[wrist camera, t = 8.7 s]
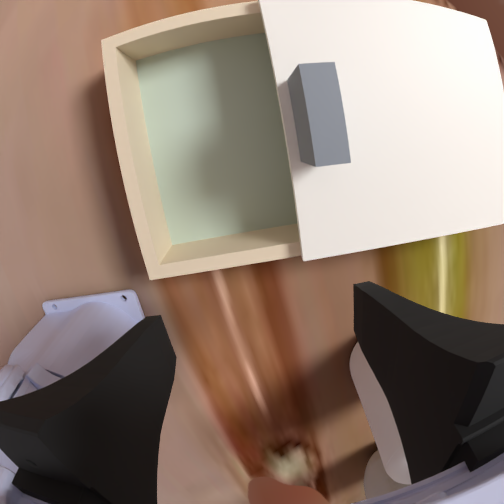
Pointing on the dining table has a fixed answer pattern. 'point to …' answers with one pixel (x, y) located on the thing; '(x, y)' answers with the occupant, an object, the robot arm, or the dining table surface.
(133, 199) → the beige open box
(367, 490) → the gray tapered bottle
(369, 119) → the lid
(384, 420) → the pill bottle
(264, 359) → the dining table surface
